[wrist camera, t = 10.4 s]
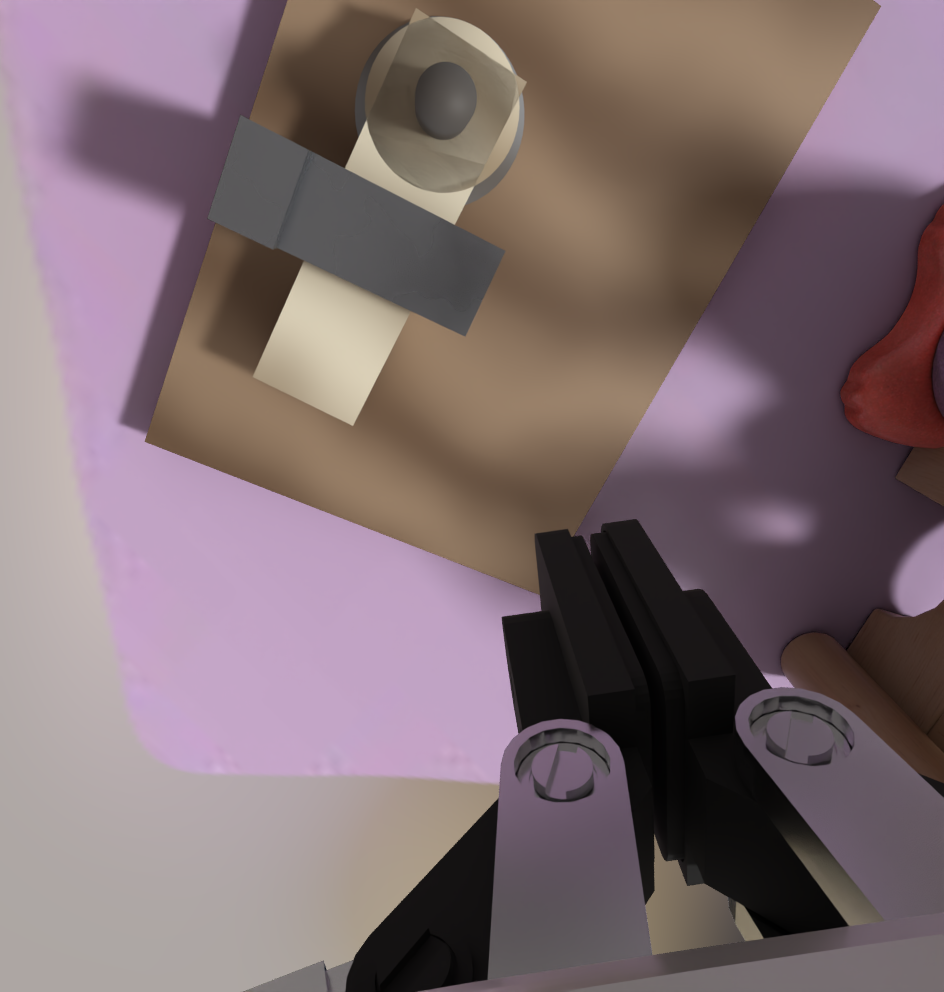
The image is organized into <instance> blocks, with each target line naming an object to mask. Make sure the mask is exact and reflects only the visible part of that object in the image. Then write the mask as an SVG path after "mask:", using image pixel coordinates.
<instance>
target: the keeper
mask: <svg viewBox="0 0 944 992" xmlns="http://www.w3.org/2000/svg"><path fill="white" fill-rule="evenodd" d="M207 219H209V220H211V221H213V222H215V223H218V224H220V225H222V226H224V227H226V228H228V229H230V230H232V231H235V232H237V233H239V234H241V235H243V236H245V237H247V238H249V239H251V240H254V241H256V242H258V243H260V244H262V245H264V246H266V247H268V248H271V249H276V248H279V249H281V250H283V251H285V252H287V253H289V254H291V255H293V256H296V257H298V258H300V259H302V260H304V261H306V262H308V263H310V264H312V265H315V266H317V267H319V268H321V269H323V270H325V271H327V272H329V273H331V274H334V275H336V276H338V277H340V278H342V279H344V280H346V281H348V282H350V283H353V284H355V285H357V286H359V287H361V288H363V289H365V290H367V291H370V292H372V293H374V294H376V295H378V296H380V297H382V298H384V299H386V300H389V301H391V302H393V303H395V304H397V305H399V306H401V307H403V308H405V309H408V310H410V311H412V312H414V313H416V314H418V315H420V316H422V317H424V318H427V319H429V320H431V321H433V322H435V323H437V324H439V325H441V326H444V327H446V328H448V329H450V330H452V331H454V332H456V333H458V334H460V335H463V336H465V337H466V334H467V332H468V330H469V328H470V326H471V324H472V322H473V319H474V317H475V315H476V313H477V311H478V309H479V307H480V304H481V302H482V300H483V298H484V296H485V294H486V292H487V289H488V287H489V285H490V283H491V281H492V279H493V277H494V275H495V272H496V270H497V268H498V266H499V264H500V262H501V260H502V257H503V255H504V253H505V250H503V249H501V248H499V247H497V246H495V245H493V244H491V243H489V242H487V241H485V240H484V239H482V238H480V237H478V236H476V235H474V234H472V233H470V232H468V231H466V230H464V229H462V228H460V227H458V226H456V225H454V224H452V223H450V222H448V221H446V220H444V219H443V218H441V217H439V216H437V215H435V214H433V213H431V212H429V211H427V210H425V209H423V208H421V207H419V206H417V205H415V204H413V203H411V202H409V201H407V200H405V199H404V198H402V197H400V196H398V195H396V194H394V193H392V192H390V191H388V190H386V189H384V188H382V187H380V186H378V185H376V184H374V183H372V182H370V181H368V180H366V179H364V178H363V177H361V176H359V175H357V174H355V173H353V172H351V171H349V170H347V169H345V168H343V167H341V166H339V165H337V164H335V163H333V162H331V161H329V160H327V159H325V158H323V157H322V156H320V155H318V154H316V153H314V152H312V151H310V150H308V149H306V148H304V147H302V146H300V145H298V144H296V143H294V142H292V141H290V140H288V139H286V138H285V137H283V136H281V135H279V134H277V133H275V132H273V131H271V130H269V129H267V128H265V127H263V126H261V125H259V124H257V123H255V122H253V121H251V120H249V119H247V118H246V117H244V116H242V115H240V118H239V121H238V124H237V127H236V130H235V133H234V137H233V140H232V143H231V146H230V149H229V152H228V155H227V158H226V162H225V165H224V168H223V171H222V174H221V177H220V180H219V184H218V187H217V190H216V193H215V196H214V199H213V202H212V205H211V209H210V212H209V215H208V218H207Z"/></svg>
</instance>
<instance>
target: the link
mask: <svg viewBox="0 0 944 992" xmlns="http://www.w3.org/2000/svg"><path fill="white" fill-rule="evenodd" d="M526 83H527V82H526V81H525V80H523V79H522V78H520V77H519V76H517V75H516V74H514V73H513V71H512V68H511V66H510V63H509V62H508V60H507V58H506V56H505V55H504V53H503V52H502V50H501V49H500V48H499V46H498V45H497V44H496V43H495V42H494V41H493V40H492V39H491V38H490V37H489V36H488V35H487V34H486V33H484V32H483V31H482V30H480V29H479V28H477V27H475V26H474V25H472V24H470V23H467V22H465V21H462V20H459V19H454V18H448V17H432V18H430V17H429V16H427V15H426V14H424V13H423V12H421V11H420V10H418V9H417V8H416V9H415V12H414V14H413V16H412V18H411V21H410V23H409V25H407V26H406V27H404V28H402V29H401V30H399V31H398V32H397V33H396V34H395V35H393V36H392V37H391V38H390V39H389V40H388V41H387V43H386V44H385V45H384V46H383V48H382V49H381V50H380V52H379V53H378V55H377V57H376V59H375V61H374V63H373V65H372V68H371V70H370V73H369V76H368V81H367V85H366V93H365V113H366V122H365V124H364V127H363V129H362V131H361V133H360V136H359V138H358V140H357V142H356V145H355V147H354V149H353V151H352V154H351V156H350V158H349V161H348V163H347V165H346V167H345V169H347V170H349V171H351V172H353V173H355V174H357V175H359V176H361V177H363V178H364V179H366V180H368V181H370V182H372V183H374V184H376V185H378V186H380V187H382V188H384V189H386V190H388V191H390V192H392V193H394V194H396V195H398V196H400V197H402V198H404V199H405V200H407V201H409V202H411V203H413V204H415V205H417V206H419V207H421V208H423V209H425V210H427V211H429V212H431V213H433V214H435V215H437V216H439V217H441V218H443V219H444V220H446V221H448V222H450V223H452V224H454V225H455V223H456V221H457V219H458V217H459V215H460V213H461V211H462V209H463V207H464V205H465V203H466V202H467V200H468V198H469V196H470V194H471V192H472V190H473V188H474V186H475V185H477V184H479V183H481V182H482V181H484V180H485V179H486V178H488V177H489V176H490V175H491V174H492V173H493V172H494V171H495V170H496V169H497V168H498V167H499V166H500V164H501V163H502V162H503V161H504V159H505V157H506V156H507V154H508V152H509V150H510V148H511V146H512V144H513V141H514V138H515V135H516V132H517V127H518V121H519V109H520V107H519V97H520V95H521V93H522V91H523V89H524V87H525V85H526ZM410 312H411V311H410V310H408V309H405V308H403V307H401V306H399V305H397V304H395V303H393V302H391V301H389V300H386V299H384V298H382V297H380V296H378V295H376V294H374V293H372V292H370V291H367V290H365V289H363V288H361V287H359V286H357V285H355V284H353V283H350V282H348V281H346V280H344V279H342V278H340V277H338V276H336V275H334V274H331V273H329V272H327V271H325V270H323V269H321V268H319V267H317V266H315V265H312V264H310V263H308V262H306V261H304V262H303V264H302V267H301V269H300V271H299V273H298V276H297V278H296V280H295V282H294V285H293V287H292V289H291V291H290V294H289V296H288V298H287V300H286V303H285V305H284V307H283V310H282V312H281V314H280V316H279V319H278V321H277V323H276V325H275V328H274V330H273V332H272V334H271V337H270V339H269V341H268V343H267V346H266V348H265V350H264V352H263V355H262V357H261V359H260V361H259V364H258V366H257V368H256V370H255V373H254V375H253V377H254V378H256V379H258V380H260V381H262V382H264V383H266V384H268V385H270V386H272V387H274V388H276V389H278V390H280V391H282V392H284V393H286V394H289V395H291V396H293V397H295V398H297V399H299V400H301V401H303V402H305V403H307V404H309V405H311V406H313V407H315V408H317V409H319V410H321V411H323V412H325V413H327V414H330V415H332V416H334V417H336V418H338V419H340V420H342V421H344V422H346V423H348V424H350V425H352V426H353V425H354V423H355V421H356V419H357V417H358V415H359V413H360V411H361V409H362V407H363V405H364V403H365V401H366V399H367V397H368V395H369V393H370V391H371V389H372V387H373V385H374V383H375V381H376V379H377V377H378V375H379V373H380V371H381V369H382V368H383V366H384V364H385V362H386V360H387V358H388V356H389V354H390V352H391V350H392V348H393V346H394V344H395V342H396V340H397V338H398V336H399V334H400V332H401V330H402V328H403V326H404V324H405V322H406V320H407V318H408V316H409V314H410Z"/></svg>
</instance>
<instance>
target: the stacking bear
mask: <svg viewBox="0 0 944 992" xmlns="http://www.w3.org/2000/svg"><path fill="white" fill-rule="evenodd" d="M840 395H841V399H842V402H843V403H844V405H845V416H846V418H847V419H848V421H849V422H850V423H851V424H852V425H853V426H854V427H856V428H857V429H859V430H861V431H863V432H865V433H868V434H870V435H872V436H875V437H878V438H881V439H884V440H887V441H890V442H894V443H898V444H903V445H907V446H913V447H920V448H940V447H944V204H943V205H942V206H941V207H940V209H939V210H938V212H937V213H936V215H935V217H934V220H933V221H932V222H931V223H930V224H929V225H928V226H927V228H926V229H925V231H924V233H923V235H922V237H921V240H920V244H919V248H918V266H917V277H916V283H915V287H914V290H913V294H912V297H911V299H910V301H909V303H908V305H907V307H906V309H905V311H904V313H903V314H902V316H901V318H900V319H899V321H898V322H897V324H896V325H895V327H894V328H893V329H892V330H891V331H890V333H889V334H888V335H887V336H886V337H884V338H883V339H882V340H881V341H880V342H878V343H877V344H876V345H874V346H873V347H872V348H870V349H869V350H868V351H866V352H865V353H864V354H862V355H861V356H860V357H859V358H858V359H857V361H856V362H855V363H854V364H853V366H852V367H851V369H850V372H849V376H848V379H847V381H846V382H845V384H844V385H843V387H842V389H841V392H840Z"/></svg>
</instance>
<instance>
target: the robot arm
mask: <svg viewBox="0 0 944 992" xmlns="http://www.w3.org/2000/svg"><path fill="white" fill-rule="evenodd" d="M590 543H591V554H590V552H589V550H588V547H587V545H586V543H585V541H584V539H583V537H582V536H575V537H571V535H570V532H569V530H568V529H563V530H556V531H549V532H542V533H535V551H536V560H537V570H538V580H539V590H540V600H541V610H542V611H540V612H533V613H526V614H519V615H512V616H505V617H502V625H503V633H504V641H505V649H506V656H507V664H508V671H509V678H510V685H511V691H512V698H513V704H514V710H515V716H516V722H517V727H518V733H519V734H518V735H517V736H515V737H514V738H513V739H512V741H511V742H510V743H509V745H508V746H507V748H506V749H505V751H504V754H503V758H502V762H501V770H500V788H499V798H498V799H497V800H496V801H495V802H494V804H493V805H492V806H491V807H490V808H489V809H488V810H487V811H486V812H485V813H484V814H483V815H482V816H481V817H480V818H479V819H478V821H477V822H476V823H475V824H474V825H473V826H472V827H471V828H470V829H469V830H468V831H467V832H466V833H465V834H464V835H463V837H462V838H461V839H460V840H459V841H458V842H457V843H456V844H455V845H454V846H453V847H452V848H451V849H450V850H449V852H448V853H447V854H446V855H445V856H444V857H443V858H442V859H441V860H440V861H439V862H438V863H437V864H436V865H435V866H434V867H433V869H432V870H431V871H430V872H429V873H428V874H427V875H426V876H425V877H424V878H423V879H422V880H421V881H420V882H419V884H418V885H417V886H416V887H415V888H414V889H413V890H412V891H411V892H410V893H409V894H408V895H407V896H406V897H405V898H404V899H403V901H401V903H400V904H399V905H398V906H397V907H396V908H395V909H394V910H393V911H392V912H391V913H390V914H389V915H388V916H387V917H386V919H385V920H384V921H383V922H382V923H381V924H380V925H379V926H378V927H377V928H376V929H375V930H374V931H373V932H372V933H371V935H370V936H369V937H368V938H367V940H366V941H365V943H364V944H363V945H362V947H361V948H360V950H359V951H358V952H357V954H356V955H355V958H354V960H352V961H349V962H347V963H344V964H342V965H339V966H336V967H334V968H331V969H329V970H327V969H326V966H325V964H324V961H321V962H318V963H316V964H313V965H311V966H308V967H305V968H303V969H300V970H298V971H295V972H292V973H290V974H287V975H285V976H282V977H279V978H277V979H275V980H272V981H269V982H267V983H264V984H261V985H259V986H256V987H254V988H251V989H249V990H246V991H244V992H944V783H942V782H940V781H937V780H934V779H932V778H929V777H927V776H924V775H921V774H919V773H917V772H916V771H915V770H914V769H913V768H912V767H911V766H909V765H908V764H907V763H906V762H905V761H904V760H903V759H902V758H901V757H900V756H899V755H898V754H897V753H896V752H895V751H894V750H893V749H891V748H890V747H889V746H888V745H887V744H886V743H885V742H884V741H883V740H882V739H881V738H880V737H879V736H878V735H877V734H876V733H875V732H874V731H872V730H871V729H870V728H869V727H868V726H867V725H866V724H865V723H864V722H863V721H862V720H861V719H860V718H859V717H858V716H857V715H856V714H854V713H853V712H852V711H850V710H849V709H848V708H846V707H845V706H844V705H842V704H841V703H840V702H838V701H835V700H833V699H831V698H829V697H827V696H825V695H823V694H820V693H816V692H812V691H808V690H805V689H799V688H785V687H780V688H773V689H772V687H771V686H770V685H769V683H768V682H767V680H766V679H765V677H764V676H763V674H762V673H761V672H760V670H759V669H758V667H757V666H756V664H755V663H754V661H753V660H752V658H751V657H750V656H749V654H748V653H747V651H746V650H745V648H744V647H743V645H742V644H741V643H740V641H739V640H738V638H737V637H736V635H735V634H734V632H733V631H732V629H731V628H730V627H729V625H728V624H727V622H726V621H725V619H724V618H723V616H722V615H721V613H720V612H719V611H718V609H717V608H716V606H715V605H714V603H713V602H712V600H711V599H710V598H709V596H708V595H707V594H706V593H705V592H704V590H701V589H694V590H687V591H682V589H681V588H680V586H679V585H678V583H677V581H676V580H675V578H674V577H673V575H672V574H671V572H670V570H669V569H668V567H667V566H666V564H665V563H664V561H663V559H662V558H661V556H660V555H659V553H658V552H657V550H656V548H655V547H654V545H653V544H652V542H651V540H650V539H649V537H648V536H647V534H646V533H645V531H644V529H643V528H642V526H641V525H640V523H639V522H638V521H637V519H633V520H626V521H619V522H612V523H605V524H602V527H601V533H596V534H591V538H590ZM654 834H655V837H656V840H657V843H658V846H659V848H660V851H661V854H662V856H663V858H664V860H666V861H672V860H678V862H679V865H680V868H681V870H682V873H683V876H684V879H685V881H686V884H687V886H690V885H696V884H703V883H705V884H706V885H708V886H710V887H712V888H713V889H715V890H717V891H719V892H721V893H722V894H724V895H726V896H727V897H728V905H729V909H730V912H731V914H732V917H733V919H734V922H735V924H736V926H737V927H738V929H739V931H740V933H741V934H742V936H743V937H744V939H745V942H738V943H731V944H724V945H717V946H711V947H703V948H697V949H690V950H684V951H677V952H670V953H663V954H657V955H652V950H651V943H650V936H649V929H648V922H647V915H646V909H645V905H646V903H647V901H648V900H649V898H650V897H651V895H652V894H653V892H654V858H655V857H654Z"/></svg>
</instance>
